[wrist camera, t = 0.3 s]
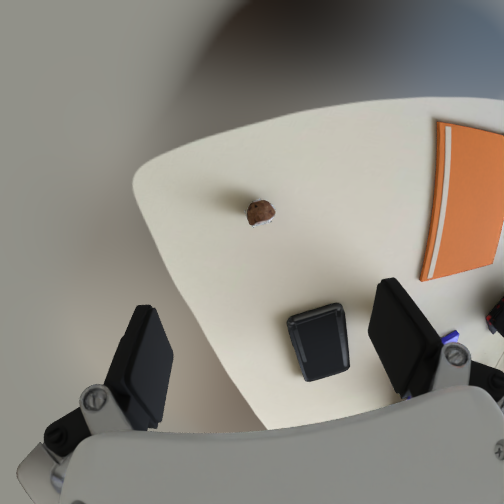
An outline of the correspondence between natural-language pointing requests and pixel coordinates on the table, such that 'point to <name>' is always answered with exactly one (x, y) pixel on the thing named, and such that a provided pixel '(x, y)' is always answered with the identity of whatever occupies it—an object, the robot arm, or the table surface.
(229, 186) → the table surface
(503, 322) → the handheld gaming console
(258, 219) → the brown coconut half
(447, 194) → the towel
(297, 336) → the phone
